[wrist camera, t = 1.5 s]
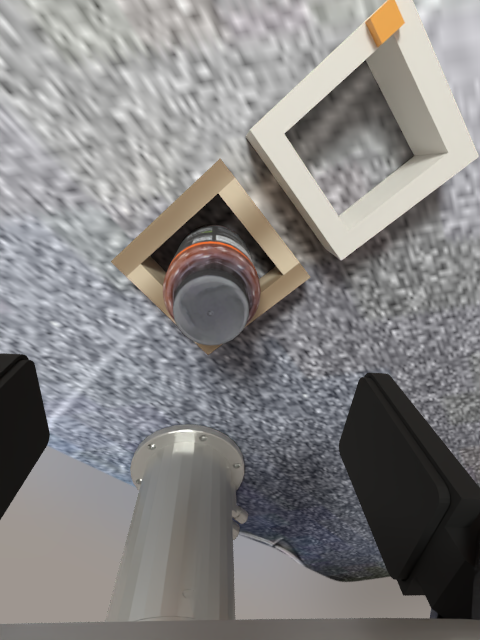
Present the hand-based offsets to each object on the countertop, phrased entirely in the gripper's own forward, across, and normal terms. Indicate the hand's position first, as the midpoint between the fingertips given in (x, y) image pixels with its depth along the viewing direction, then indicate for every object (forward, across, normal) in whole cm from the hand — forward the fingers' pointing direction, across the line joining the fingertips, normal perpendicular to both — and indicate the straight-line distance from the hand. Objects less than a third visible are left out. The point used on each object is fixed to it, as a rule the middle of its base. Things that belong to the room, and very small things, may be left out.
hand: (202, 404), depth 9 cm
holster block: (+19, 0, +1) cm, 19 cm away
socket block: (+19, -9, -8) cm, 23 cm away
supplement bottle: (+19, 0, +1) cm, 19 cm away
